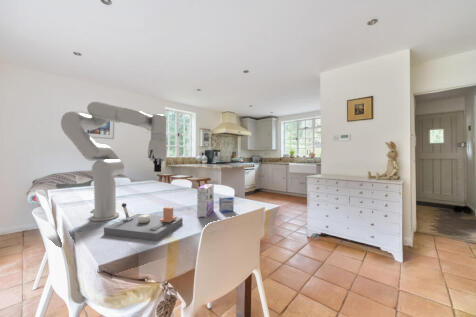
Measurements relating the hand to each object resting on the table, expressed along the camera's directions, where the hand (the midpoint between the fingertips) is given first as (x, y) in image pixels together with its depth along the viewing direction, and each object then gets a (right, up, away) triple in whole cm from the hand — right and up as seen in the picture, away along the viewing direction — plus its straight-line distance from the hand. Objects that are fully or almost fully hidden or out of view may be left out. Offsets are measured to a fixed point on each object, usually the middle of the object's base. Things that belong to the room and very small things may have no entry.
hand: (157, 171), depth 105 cm
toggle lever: (-9, -21, -12) cm, 26 cm away
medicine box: (+36, -25, +14) cm, 46 cm away
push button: (0, -22, -14) cm, 26 cm away
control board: (+1, -26, -15) cm, 29 cm away
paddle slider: (+11, -22, -13) cm, 27 cm away
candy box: (+25, -25, +8) cm, 36 cm away
